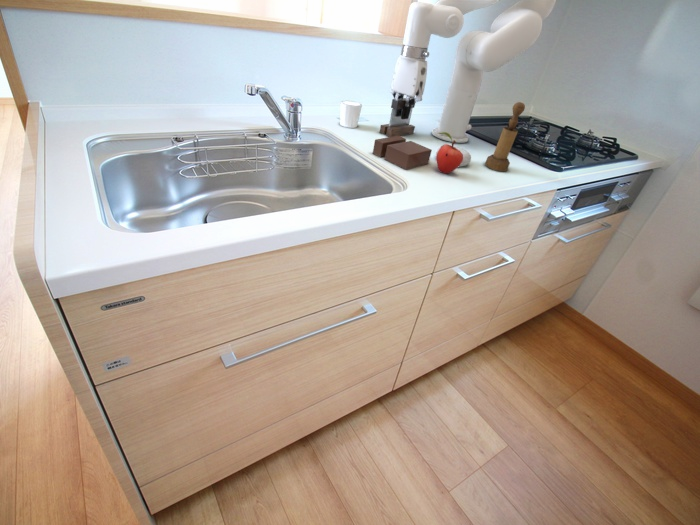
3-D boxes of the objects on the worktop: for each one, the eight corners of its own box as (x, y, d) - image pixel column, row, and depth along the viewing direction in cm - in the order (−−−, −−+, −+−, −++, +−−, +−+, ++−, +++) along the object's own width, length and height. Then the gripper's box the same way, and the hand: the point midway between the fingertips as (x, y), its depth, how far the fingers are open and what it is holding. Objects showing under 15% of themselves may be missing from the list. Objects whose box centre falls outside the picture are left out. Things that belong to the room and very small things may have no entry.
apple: (454, 168, 102) (466, 132, 96) (460, 178, 96) (472, 140, 90) (427, 164, 101) (437, 128, 95) (431, 174, 96) (442, 136, 90)
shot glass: (340, 120, 125) (342, 99, 121) (359, 124, 125) (363, 102, 121) (336, 126, 119) (339, 103, 115) (357, 129, 119) (360, 107, 115)
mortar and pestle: (511, 172, 106) (538, 106, 96) (493, 171, 104) (518, 105, 94) (498, 163, 111) (522, 100, 101) (480, 162, 109) (503, 98, 99)
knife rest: (402, 129, 127) (404, 121, 126) (413, 133, 125) (415, 126, 123) (379, 132, 120) (380, 124, 118) (390, 137, 117) (392, 129, 116)
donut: (434, 164, 103) (470, 170, 102) (437, 152, 101) (474, 158, 100) (435, 153, 111) (468, 159, 110) (437, 141, 109) (471, 147, 108)
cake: (407, 154, 106) (410, 140, 104) (428, 163, 102) (432, 149, 100) (384, 159, 100) (387, 145, 98) (405, 169, 96) (409, 154, 94)
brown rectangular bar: (395, 149, 108) (398, 135, 106) (403, 152, 107) (406, 138, 105) (372, 153, 102) (375, 139, 100) (380, 157, 101) (383, 143, 98)
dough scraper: (404, 130, 126) (411, 97, 120) (409, 132, 125) (417, 99, 118) (385, 133, 120) (391, 99, 114) (390, 135, 119) (397, 101, 112)
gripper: (443, 58, 107) (427, 123, 117) (401, 48, 115) (390, 109, 126) (427, 58, 102) (412, 125, 113) (385, 48, 111) (375, 111, 121)
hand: (400, 116), depth 119 cm, fingers closed on dough scraper, 2 cm apart
